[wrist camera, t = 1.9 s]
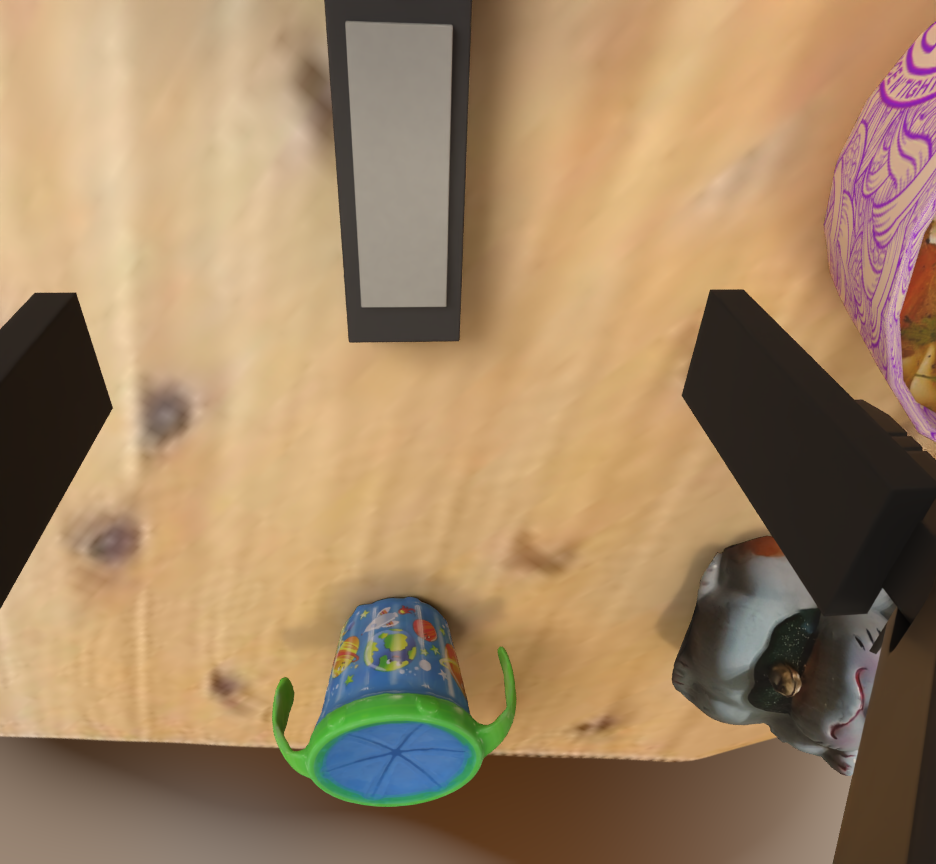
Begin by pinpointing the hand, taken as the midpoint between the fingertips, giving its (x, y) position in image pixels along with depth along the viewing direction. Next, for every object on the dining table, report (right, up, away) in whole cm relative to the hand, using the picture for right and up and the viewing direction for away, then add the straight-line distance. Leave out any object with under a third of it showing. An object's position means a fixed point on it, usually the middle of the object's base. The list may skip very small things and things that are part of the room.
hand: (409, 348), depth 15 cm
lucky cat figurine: (+23, -13, +36) cm, 45 cm away
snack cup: (-4, -16, +34) cm, 38 cm away
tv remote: (-2, +11, +15) cm, 18 cm away
